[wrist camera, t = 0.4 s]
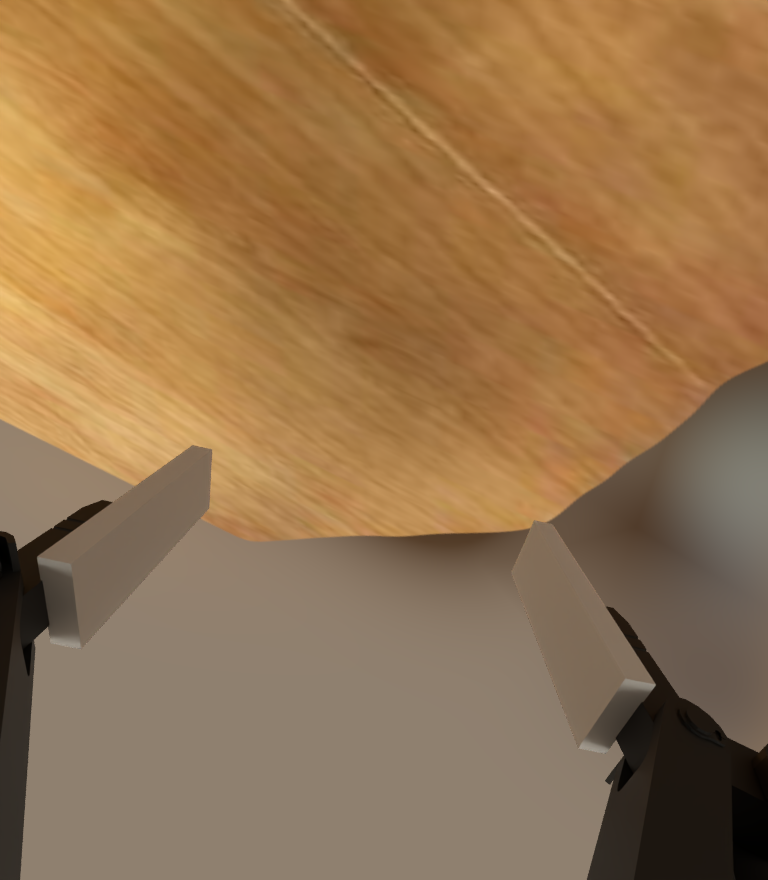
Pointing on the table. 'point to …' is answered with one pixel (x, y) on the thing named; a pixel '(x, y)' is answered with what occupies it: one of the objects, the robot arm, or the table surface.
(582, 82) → the table surface
